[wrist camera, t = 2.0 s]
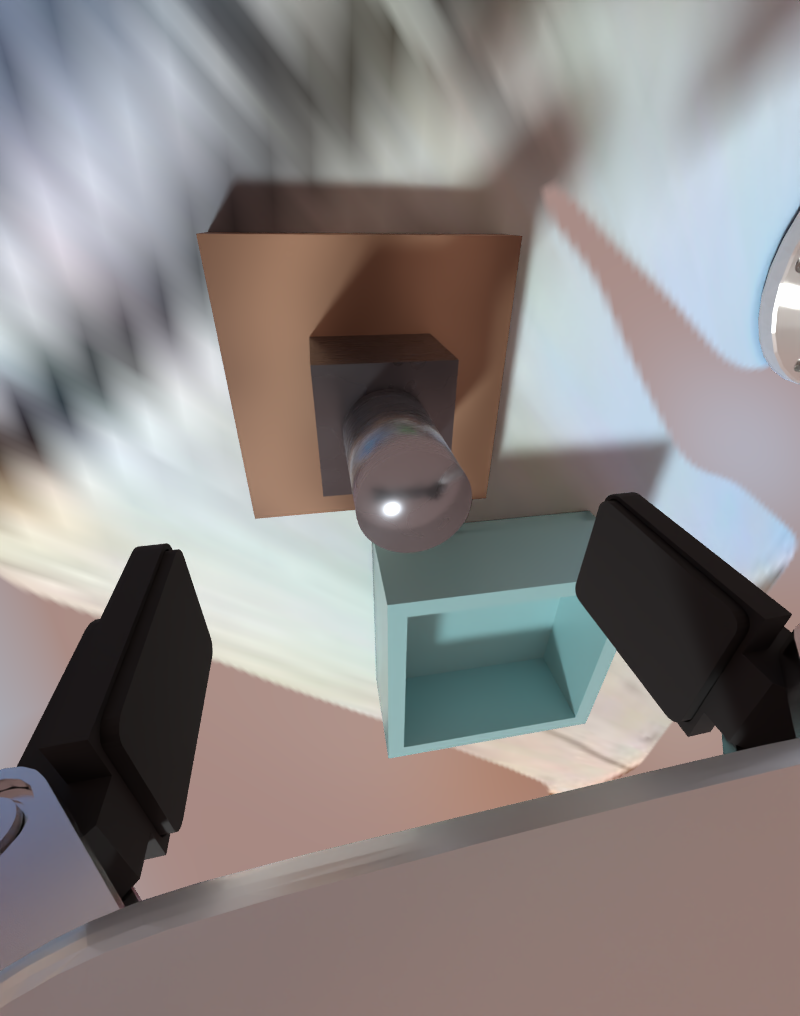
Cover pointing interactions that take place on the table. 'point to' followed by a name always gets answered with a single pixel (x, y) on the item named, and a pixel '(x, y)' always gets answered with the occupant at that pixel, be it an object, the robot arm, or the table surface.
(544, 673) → the bin
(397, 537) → the square base knob
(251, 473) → the stud plate
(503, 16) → the table surface
